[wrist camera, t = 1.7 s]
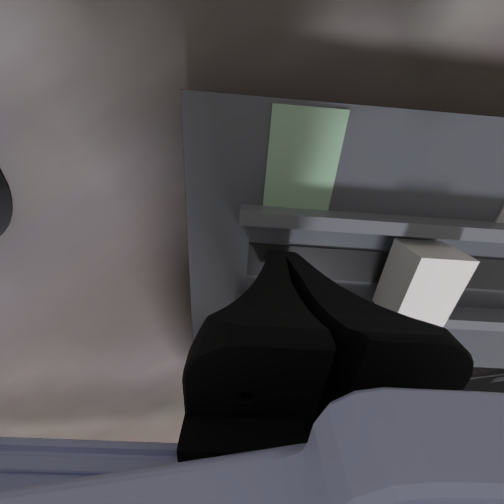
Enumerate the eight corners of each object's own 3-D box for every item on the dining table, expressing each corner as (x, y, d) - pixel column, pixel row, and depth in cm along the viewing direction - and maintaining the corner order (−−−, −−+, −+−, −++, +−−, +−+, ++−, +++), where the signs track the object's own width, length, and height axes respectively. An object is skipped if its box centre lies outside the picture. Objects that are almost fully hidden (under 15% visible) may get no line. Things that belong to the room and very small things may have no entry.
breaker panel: (492, 340, 18) (546, 386, 15) (200, 325, 17) (188, 370, 14) (636, 135, 12) (782, 137, 9) (194, 98, 11) (170, 83, 8)
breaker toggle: (415, 302, 13) (442, 329, 11) (372, 299, 13) (391, 326, 11) (444, 241, 11) (479, 261, 10) (394, 237, 11) (421, 257, 10)
